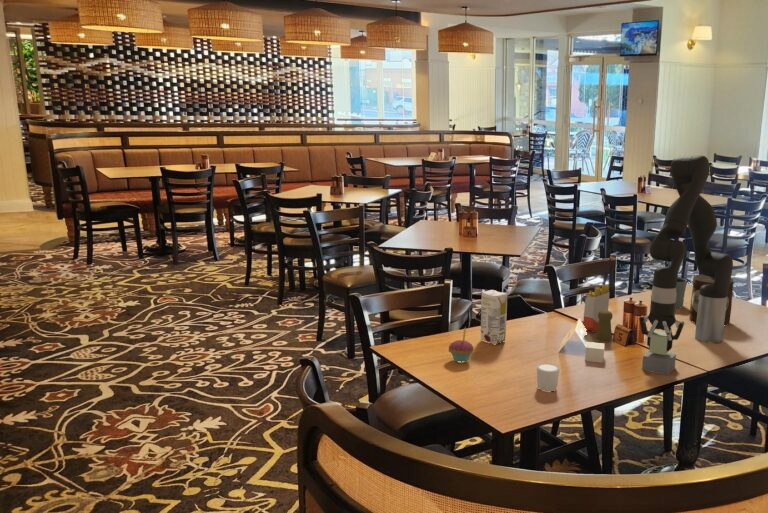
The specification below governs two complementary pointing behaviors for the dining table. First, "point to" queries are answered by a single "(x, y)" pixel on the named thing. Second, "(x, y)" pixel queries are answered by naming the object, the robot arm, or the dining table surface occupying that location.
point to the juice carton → (493, 316)
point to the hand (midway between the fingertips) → (659, 348)
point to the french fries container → (595, 307)
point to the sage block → (658, 343)
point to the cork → (604, 326)
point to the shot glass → (547, 376)
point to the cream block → (594, 352)
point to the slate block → (659, 362)
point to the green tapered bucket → (680, 292)
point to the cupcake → (461, 349)
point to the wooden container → (697, 283)
